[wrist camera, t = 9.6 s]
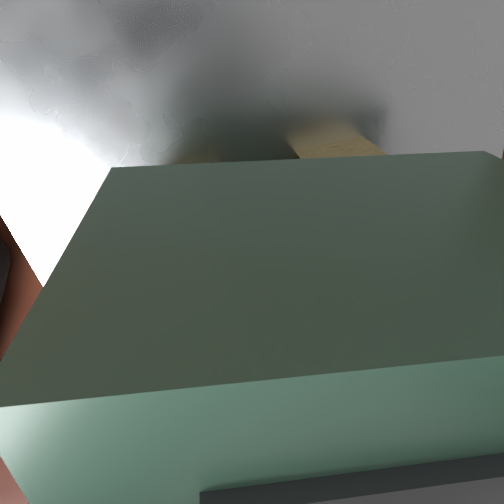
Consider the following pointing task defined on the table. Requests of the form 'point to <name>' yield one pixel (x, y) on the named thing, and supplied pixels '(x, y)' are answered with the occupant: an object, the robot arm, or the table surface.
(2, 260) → the electronic device
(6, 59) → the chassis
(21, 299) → the table surface
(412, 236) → the block
